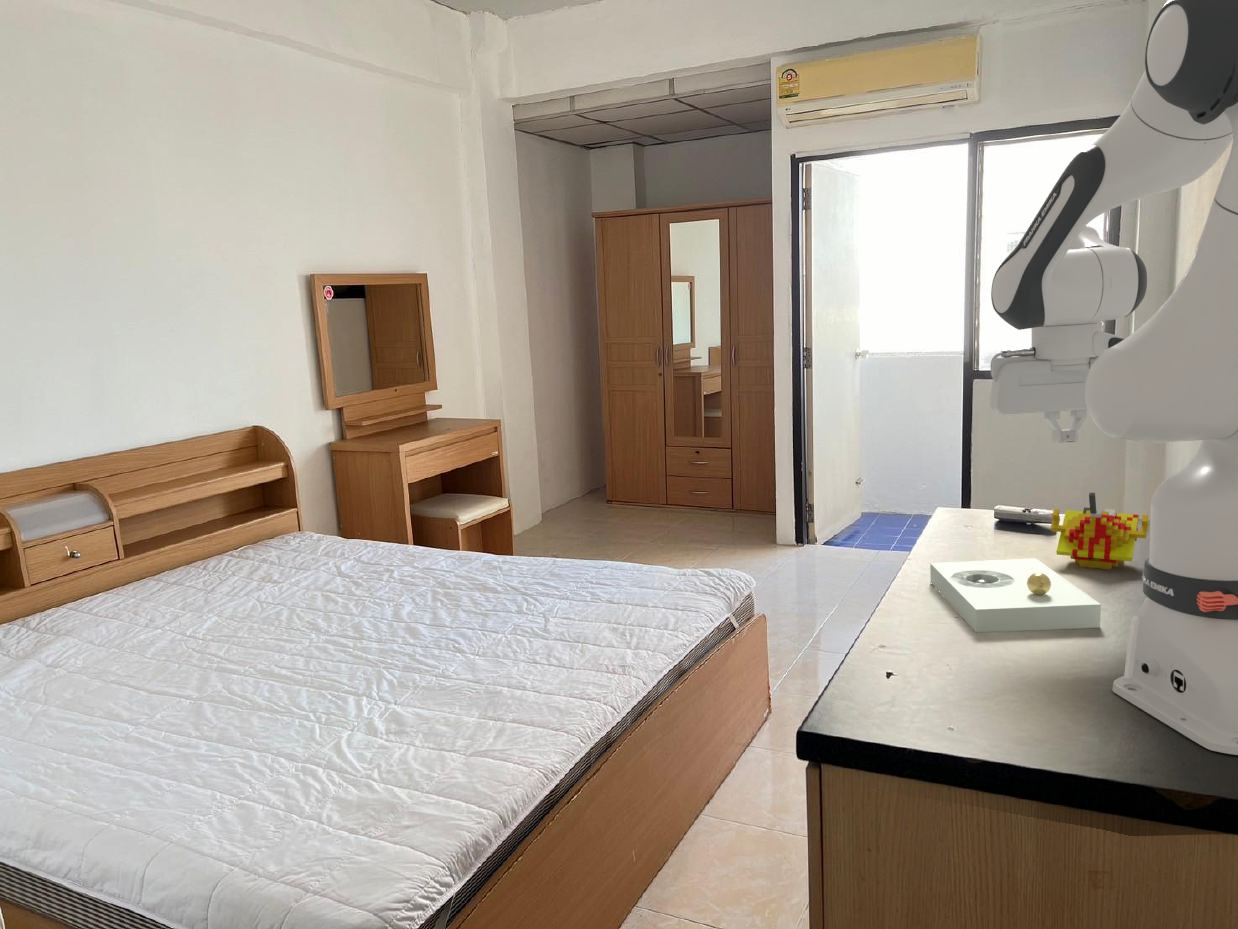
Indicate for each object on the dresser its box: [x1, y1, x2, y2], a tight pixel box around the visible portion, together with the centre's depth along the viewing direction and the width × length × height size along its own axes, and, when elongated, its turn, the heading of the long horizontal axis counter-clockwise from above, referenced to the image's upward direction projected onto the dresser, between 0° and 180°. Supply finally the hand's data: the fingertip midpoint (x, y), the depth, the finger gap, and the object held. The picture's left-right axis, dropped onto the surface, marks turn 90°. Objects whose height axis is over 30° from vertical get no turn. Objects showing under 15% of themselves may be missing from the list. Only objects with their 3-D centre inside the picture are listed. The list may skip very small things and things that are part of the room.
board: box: [929, 557, 1102, 634], centre depth 131 cm, size 22×16×3 cm
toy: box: [1050, 492, 1150, 570], centre depth 144 cm, size 14×10×15 cm
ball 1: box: [974, 579, 989, 584], centre depth 133 cm, size 3×3×3 cm
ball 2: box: [1027, 573, 1051, 595], centre depth 124 cm, size 3×3×3 cm
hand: (1065, 442), depth 131 cm, fingers closed
